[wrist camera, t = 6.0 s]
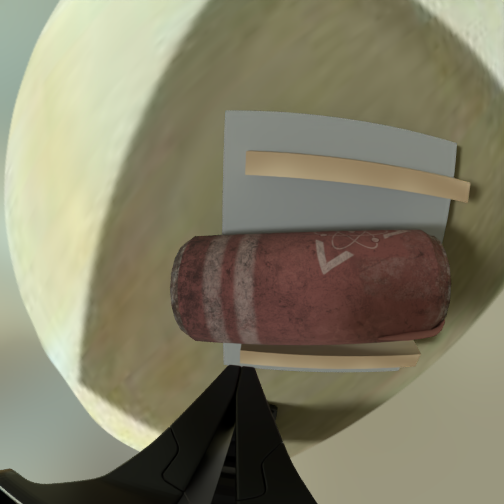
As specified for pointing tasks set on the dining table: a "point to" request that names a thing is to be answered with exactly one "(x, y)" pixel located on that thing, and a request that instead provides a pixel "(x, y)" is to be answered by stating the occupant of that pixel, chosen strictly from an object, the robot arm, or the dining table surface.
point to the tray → (332, 205)
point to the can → (311, 287)
